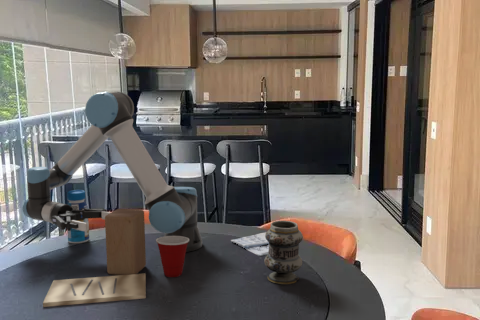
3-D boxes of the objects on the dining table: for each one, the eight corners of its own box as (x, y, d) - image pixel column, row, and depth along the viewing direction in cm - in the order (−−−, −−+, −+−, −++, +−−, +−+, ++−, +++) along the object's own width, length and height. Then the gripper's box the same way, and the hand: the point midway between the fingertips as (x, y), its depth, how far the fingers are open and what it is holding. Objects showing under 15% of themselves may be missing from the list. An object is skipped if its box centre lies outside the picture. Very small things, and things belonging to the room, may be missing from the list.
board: (145, 276, 154) (145, 273, 154) (145, 298, 139) (145, 293, 138) (53, 284, 149) (53, 280, 149) (43, 306, 133) (42, 302, 133)
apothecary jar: (297, 288, 145) (298, 231, 142) (259, 283, 149) (259, 227, 146) (305, 274, 156) (306, 220, 153) (270, 269, 160) (270, 217, 158)
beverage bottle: (63, 241, 190) (60, 192, 187) (81, 236, 197) (78, 188, 194) (76, 245, 185) (73, 194, 182) (94, 239, 192) (91, 190, 189)
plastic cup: (195, 269, 160) (194, 235, 158) (181, 282, 150) (180, 245, 148) (166, 266, 164) (165, 232, 162) (150, 277, 153) (149, 241, 152)
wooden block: (135, 277, 154) (132, 216, 151) (106, 274, 156) (103, 215, 153) (147, 266, 164) (145, 209, 161) (119, 263, 166) (117, 207, 163)
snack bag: (269, 235, 198) (269, 230, 198) (299, 249, 181) (299, 244, 181) (229, 243, 189) (229, 238, 188) (257, 258, 172) (257, 253, 171)
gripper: (85, 215, 184) (127, 224, 174) (28, 232, 162) (73, 243, 152) (84, 196, 183) (126, 203, 172) (27, 210, 161) (72, 220, 151)
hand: (101, 222), depth 162 cm, fingers open, 13 cm apart
